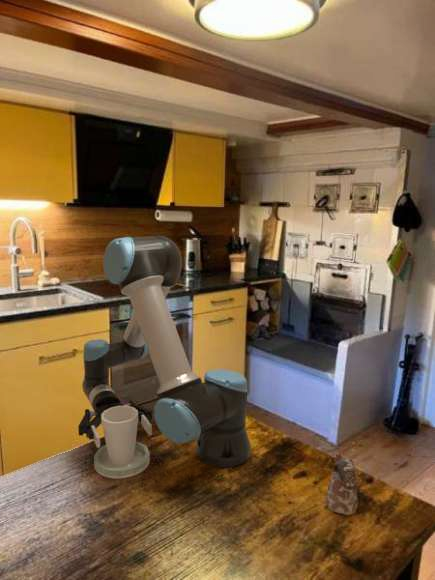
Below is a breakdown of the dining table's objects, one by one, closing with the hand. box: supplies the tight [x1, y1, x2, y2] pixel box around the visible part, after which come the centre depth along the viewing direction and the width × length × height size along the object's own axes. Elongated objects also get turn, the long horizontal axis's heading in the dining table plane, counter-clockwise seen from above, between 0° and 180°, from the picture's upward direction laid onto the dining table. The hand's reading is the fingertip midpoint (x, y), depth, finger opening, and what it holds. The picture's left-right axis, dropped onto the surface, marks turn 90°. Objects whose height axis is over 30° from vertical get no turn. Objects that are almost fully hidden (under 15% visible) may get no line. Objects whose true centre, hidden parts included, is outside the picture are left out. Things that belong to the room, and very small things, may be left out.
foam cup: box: [101, 406, 139, 466], centre depth 113 cm, size 10×9×13 cm
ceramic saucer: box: [93, 440, 151, 480], centre depth 114 cm, size 14×14×2 cm
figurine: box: [325, 452, 359, 516], centre depth 100 cm, size 7×7×12 cm
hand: (125, 436), depth 110 cm, fingers open, 13 cm apart
